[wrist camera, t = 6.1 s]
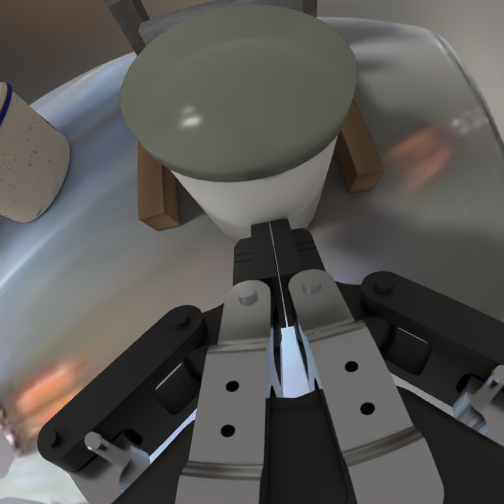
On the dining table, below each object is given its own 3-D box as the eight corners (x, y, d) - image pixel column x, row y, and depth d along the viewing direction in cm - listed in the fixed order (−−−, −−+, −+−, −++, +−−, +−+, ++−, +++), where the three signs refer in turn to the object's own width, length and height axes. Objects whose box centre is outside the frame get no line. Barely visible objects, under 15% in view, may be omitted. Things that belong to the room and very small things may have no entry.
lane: (157, 231, 17) (32, 149, 6) (156, 71, 20) (105, -20, 9) (371, 189, 16) (448, 63, 5) (307, 40, 19) (307, -64, 8)
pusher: (180, 108, 18) (138, 31, 10) (178, 61, 19) (147, -7, 12) (301, 84, 17) (302, -4, 10) (282, 40, 18) (276, -35, 11)
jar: (217, 263, 16) (117, 197, 6) (199, 160, 17) (127, 39, 7) (335, 235, 15) (401, 129, 6) (302, 135, 17) (307, -5, 7)
